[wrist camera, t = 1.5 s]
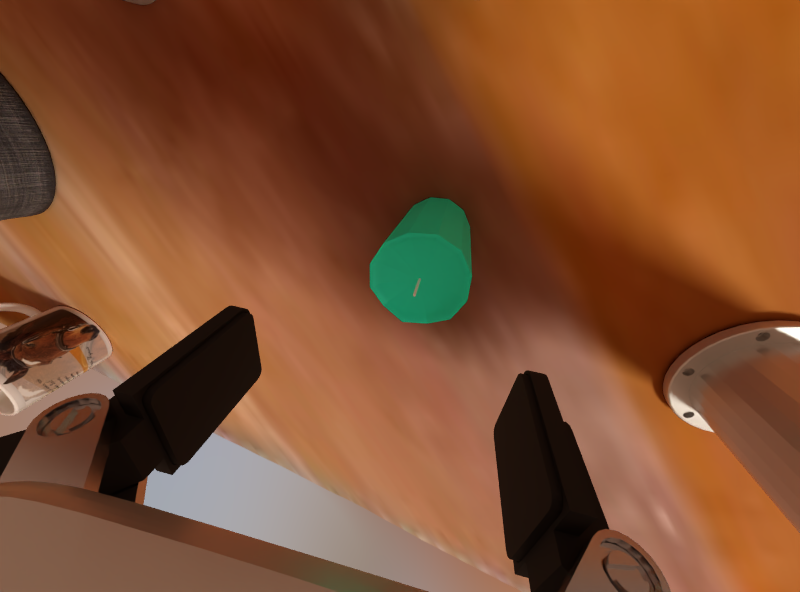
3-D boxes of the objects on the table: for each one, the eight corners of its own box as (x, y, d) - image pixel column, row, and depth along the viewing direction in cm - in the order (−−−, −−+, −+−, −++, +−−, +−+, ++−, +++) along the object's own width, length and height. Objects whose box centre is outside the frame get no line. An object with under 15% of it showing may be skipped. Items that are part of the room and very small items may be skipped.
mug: (70, 352, 47) (-31, 407, 37) (26, 287, 41) (-107, 332, 32) (123, 363, 45) (32, 422, 36) (85, 296, 39) (-37, 346, 30)
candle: (396, 203, 25) (346, 248, 15) (466, 190, 23) (466, 231, 13) (408, 266, 28) (374, 343, 17) (473, 259, 26) (477, 338, 16)
